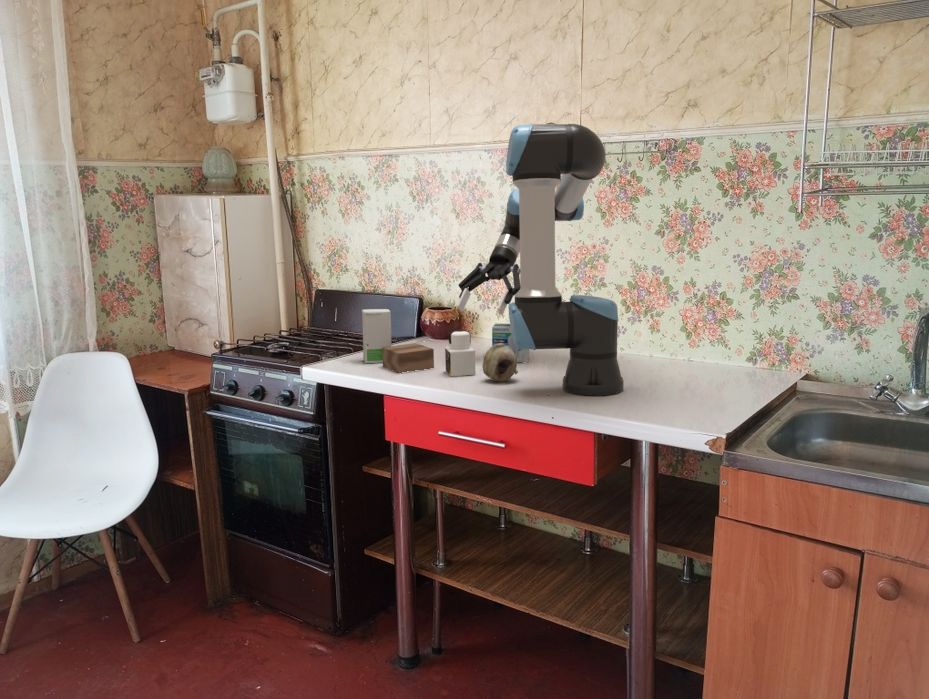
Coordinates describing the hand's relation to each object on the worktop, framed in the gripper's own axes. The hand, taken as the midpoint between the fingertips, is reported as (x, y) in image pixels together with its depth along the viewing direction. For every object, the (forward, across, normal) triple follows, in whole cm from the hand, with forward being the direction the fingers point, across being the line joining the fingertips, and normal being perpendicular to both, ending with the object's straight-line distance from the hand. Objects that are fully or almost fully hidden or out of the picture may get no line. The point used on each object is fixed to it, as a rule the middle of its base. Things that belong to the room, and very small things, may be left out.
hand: (479, 310), depth 214 cm
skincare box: (+18, +31, -6) cm, 36 cm away
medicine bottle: (+19, 0, -4) cm, 20 cm away
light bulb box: (+4, -4, -19) cm, 20 cm away
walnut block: (+20, +17, -4) cm, 27 cm away
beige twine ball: (+20, -14, -3) cm, 25 cm away
